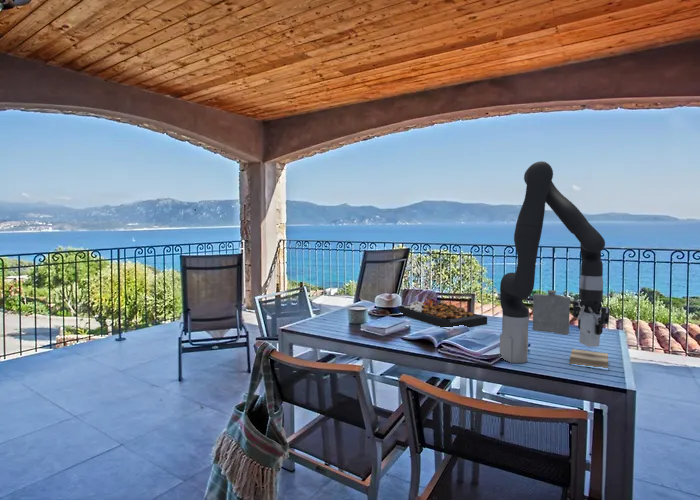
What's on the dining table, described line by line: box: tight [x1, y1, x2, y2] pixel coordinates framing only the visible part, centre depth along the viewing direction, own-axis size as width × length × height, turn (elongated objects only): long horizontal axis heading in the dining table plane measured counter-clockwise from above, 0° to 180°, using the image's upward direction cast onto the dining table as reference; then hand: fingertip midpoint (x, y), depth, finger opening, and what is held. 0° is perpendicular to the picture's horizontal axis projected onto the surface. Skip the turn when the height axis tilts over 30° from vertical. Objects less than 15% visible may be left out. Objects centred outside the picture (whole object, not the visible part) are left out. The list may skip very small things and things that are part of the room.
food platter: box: [397, 295, 488, 328], centre depth 233 cm, size 45×25×10 cm, turn 30°
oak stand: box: [569, 348, 609, 369], centre depth 159 cm, size 12×12×3 cm
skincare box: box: [578, 312, 601, 348], centre depth 159 cm, size 6×4×12 cm
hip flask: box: [532, 289, 571, 336], centre depth 205 cm, size 16×4×20 cm, turn 54°
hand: (589, 331), depth 159 cm, fingers closed on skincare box, 6 cm apart
